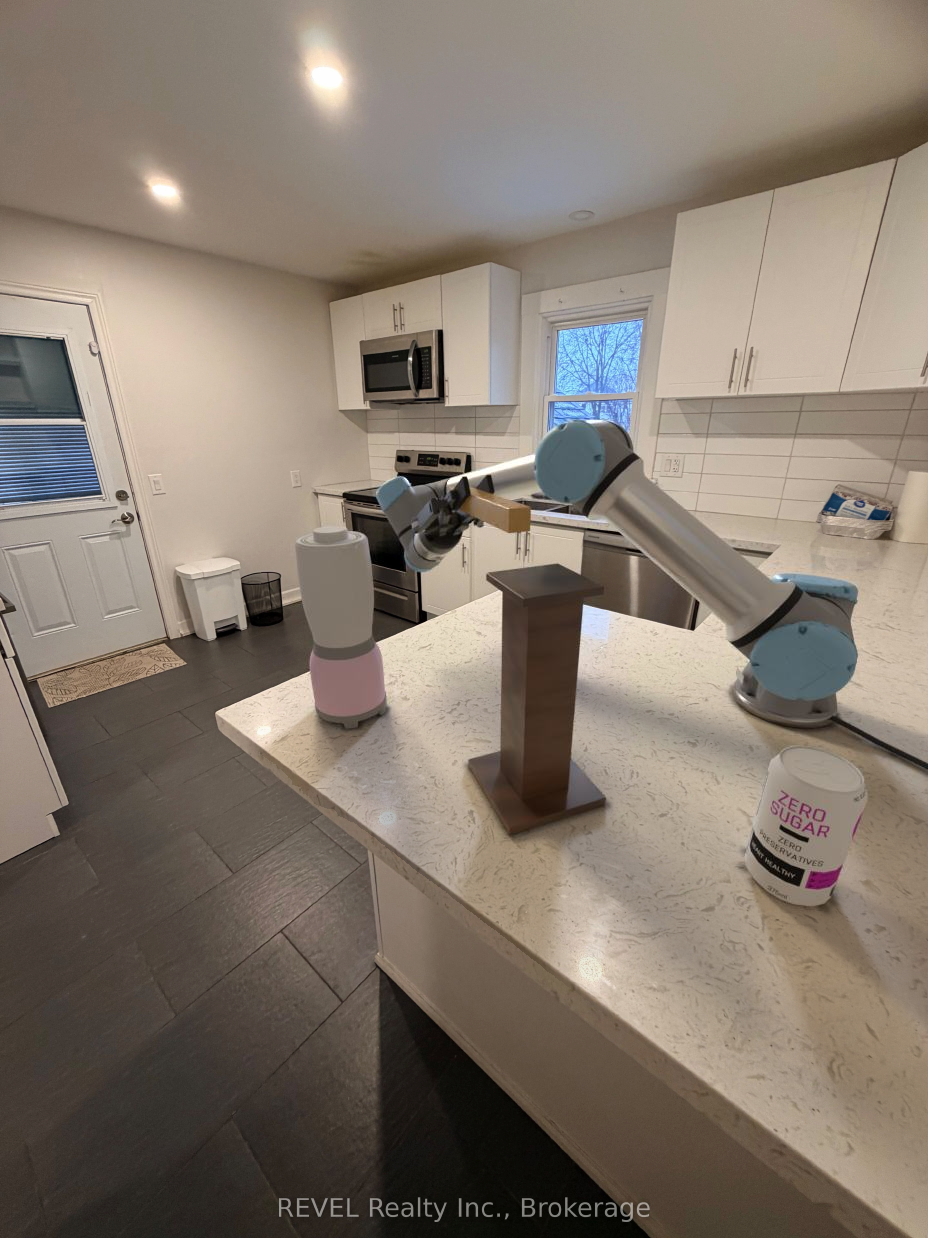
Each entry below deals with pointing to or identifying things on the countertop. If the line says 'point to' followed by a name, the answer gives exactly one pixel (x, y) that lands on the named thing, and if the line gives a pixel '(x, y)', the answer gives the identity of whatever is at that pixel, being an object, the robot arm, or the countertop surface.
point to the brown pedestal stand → (538, 699)
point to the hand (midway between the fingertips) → (478, 484)
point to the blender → (341, 624)
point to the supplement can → (805, 824)
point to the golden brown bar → (497, 511)
